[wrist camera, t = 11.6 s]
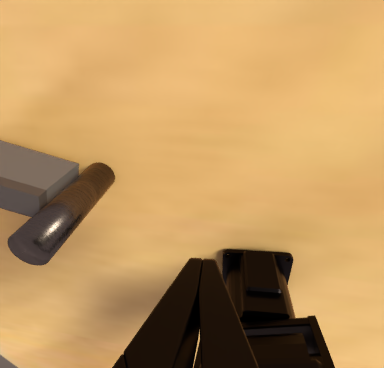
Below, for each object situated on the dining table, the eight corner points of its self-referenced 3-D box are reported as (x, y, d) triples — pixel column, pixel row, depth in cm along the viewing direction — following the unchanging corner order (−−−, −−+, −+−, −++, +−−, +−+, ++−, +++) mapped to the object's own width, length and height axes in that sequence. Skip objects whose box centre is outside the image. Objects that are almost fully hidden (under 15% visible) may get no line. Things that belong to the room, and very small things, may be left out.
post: (117, 187, 22) (55, 266, 14) (92, 186, 22) (18, 263, 14) (111, 162, 20) (41, 234, 13) (85, 162, 21) (0, 232, 13)
